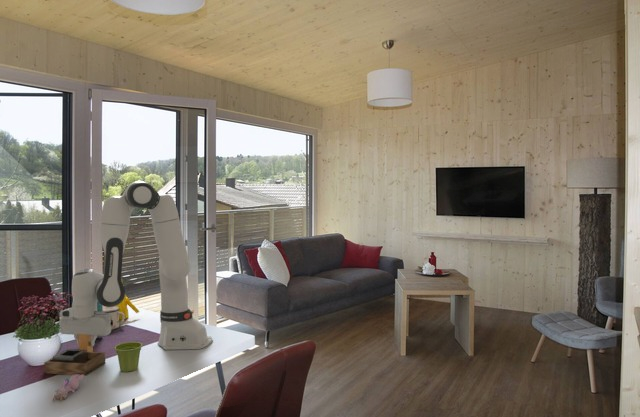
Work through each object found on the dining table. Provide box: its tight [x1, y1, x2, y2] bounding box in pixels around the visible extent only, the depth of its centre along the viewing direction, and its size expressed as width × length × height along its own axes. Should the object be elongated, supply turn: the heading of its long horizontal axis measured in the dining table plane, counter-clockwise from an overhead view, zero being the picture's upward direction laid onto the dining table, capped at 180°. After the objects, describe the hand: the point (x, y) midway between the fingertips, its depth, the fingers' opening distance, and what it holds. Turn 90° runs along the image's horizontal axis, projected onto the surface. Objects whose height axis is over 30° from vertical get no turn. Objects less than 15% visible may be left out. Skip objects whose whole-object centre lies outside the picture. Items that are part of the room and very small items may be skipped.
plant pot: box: [114, 341, 143, 373], centre depth 176 cm, size 9×9×9 cm
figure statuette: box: [116, 277, 140, 321], centre depth 241 cm, size 18×8×22 cm, turn 85°
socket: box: [52, 348, 88, 363], centre depth 177 cm, size 8×8×4 cm
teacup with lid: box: [102, 306, 125, 330], centre depth 226 cm, size 12×9×12 cm
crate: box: [43, 351, 106, 377], centre depth 177 cm, size 16×12×4 cm
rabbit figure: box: [51, 374, 85, 403], centre depth 157 cm, size 6×6×15 cm
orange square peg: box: [78, 334, 94, 352], centre depth 189 cm, size 4×4×11 cm
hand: (85, 345), depth 189 cm, fingers closed on orange square peg, 3 cm apart
